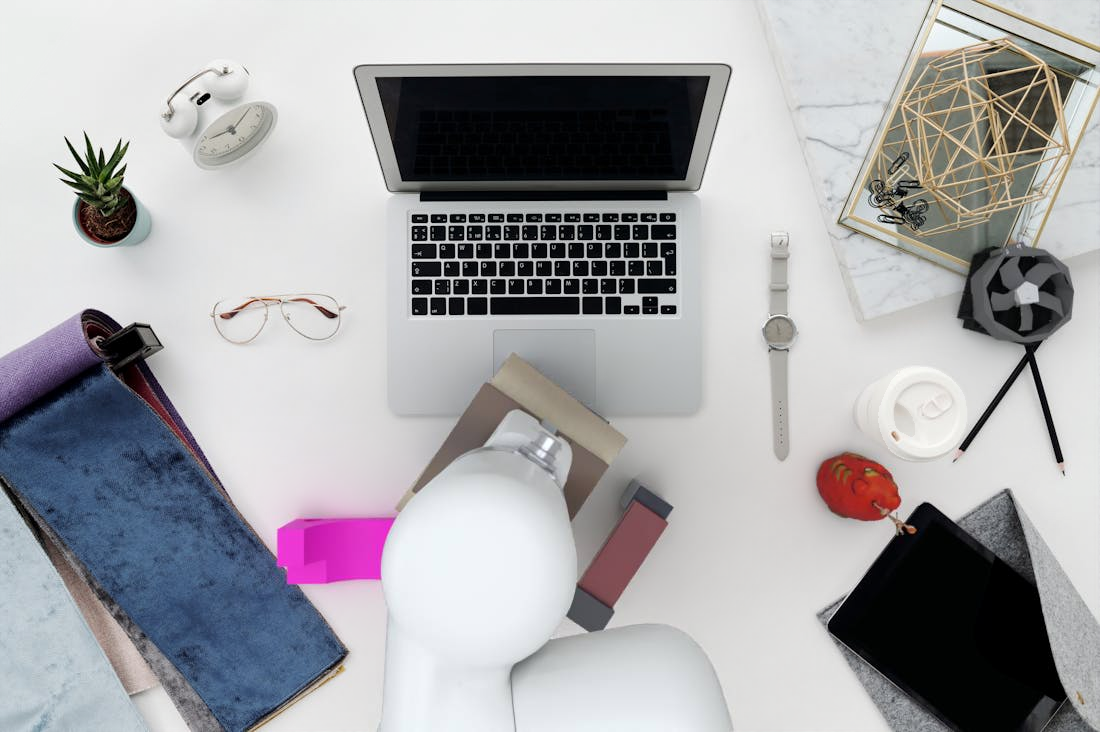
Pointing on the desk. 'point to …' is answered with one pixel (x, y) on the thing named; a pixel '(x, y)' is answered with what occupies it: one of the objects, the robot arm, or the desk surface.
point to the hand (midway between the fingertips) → (509, 477)
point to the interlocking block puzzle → (540, 400)
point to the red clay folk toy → (859, 489)
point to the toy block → (332, 549)
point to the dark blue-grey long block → (645, 499)
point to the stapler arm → (615, 566)
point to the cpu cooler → (1017, 294)
